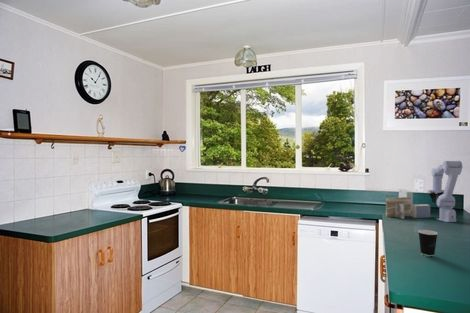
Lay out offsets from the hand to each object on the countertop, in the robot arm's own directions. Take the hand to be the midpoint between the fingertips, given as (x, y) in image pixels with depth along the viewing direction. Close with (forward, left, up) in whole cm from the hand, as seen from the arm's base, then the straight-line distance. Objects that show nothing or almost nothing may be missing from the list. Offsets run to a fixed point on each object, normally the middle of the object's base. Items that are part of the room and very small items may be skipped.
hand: (436, 202), depth 233 cm
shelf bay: (+1, +29, -10) cm, 31 cm away
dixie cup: (-77, +79, -11) cm, 111 cm away
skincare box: (+31, +1, -11) cm, 33 cm away
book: (0, +14, -11) cm, 18 cm away
